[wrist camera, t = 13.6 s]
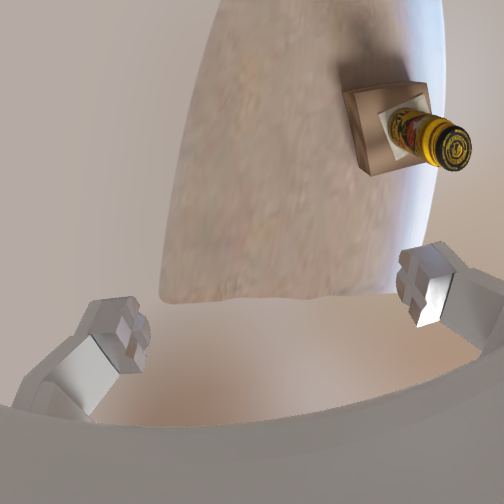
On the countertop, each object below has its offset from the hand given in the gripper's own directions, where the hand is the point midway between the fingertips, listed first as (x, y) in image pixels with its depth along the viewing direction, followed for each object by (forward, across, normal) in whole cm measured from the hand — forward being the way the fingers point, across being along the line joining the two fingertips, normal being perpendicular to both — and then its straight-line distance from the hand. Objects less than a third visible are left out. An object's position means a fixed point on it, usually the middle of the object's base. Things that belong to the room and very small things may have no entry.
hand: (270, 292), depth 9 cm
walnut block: (+36, -22, +2) cm, 42 cm away
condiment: (+31, -23, +2) cm, 39 cm away
